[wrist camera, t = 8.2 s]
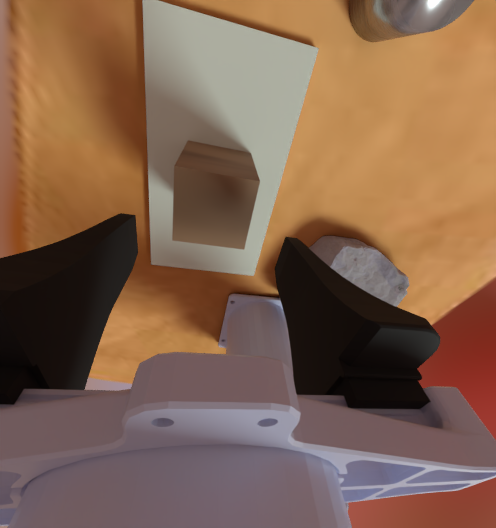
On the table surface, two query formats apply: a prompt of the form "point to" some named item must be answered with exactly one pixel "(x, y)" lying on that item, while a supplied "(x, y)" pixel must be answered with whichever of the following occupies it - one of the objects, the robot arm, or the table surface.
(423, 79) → the table surface
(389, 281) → the stone block
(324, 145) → the table surface
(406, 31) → the steel cylinder
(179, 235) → the walnut block
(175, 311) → the table surface
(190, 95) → the sage mat
